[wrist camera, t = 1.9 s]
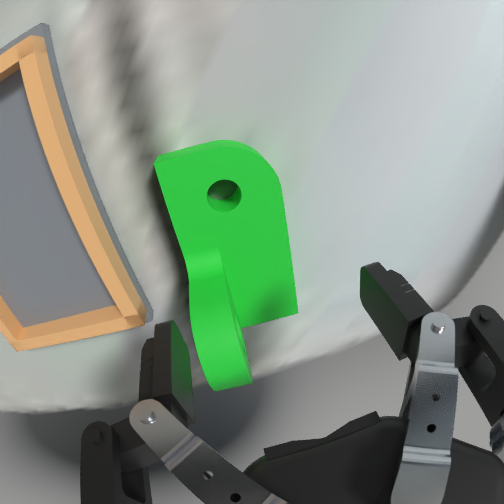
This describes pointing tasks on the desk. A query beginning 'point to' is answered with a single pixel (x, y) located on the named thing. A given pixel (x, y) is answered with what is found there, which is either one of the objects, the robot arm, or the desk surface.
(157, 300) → the desk surface
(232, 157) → the mechanical part
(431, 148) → the desk surface
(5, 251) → the fitting jig
